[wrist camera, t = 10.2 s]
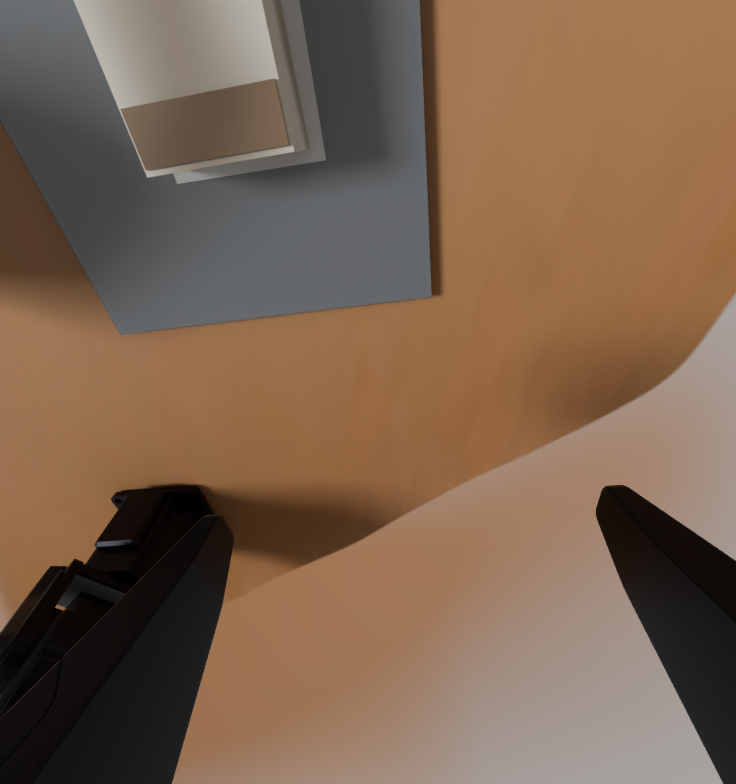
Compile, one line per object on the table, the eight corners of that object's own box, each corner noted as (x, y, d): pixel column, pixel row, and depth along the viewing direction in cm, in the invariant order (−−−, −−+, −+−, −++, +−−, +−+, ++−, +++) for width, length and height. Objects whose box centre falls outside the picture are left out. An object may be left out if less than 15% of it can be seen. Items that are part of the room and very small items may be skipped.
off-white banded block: (240, -205, 10) (188, -334, 7) (309, 149, 14) (294, 151, 12) (70, -157, 10) (-39, -262, 8) (188, 170, 15) (145, 177, 12)
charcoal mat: (430, 293, 18) (431, 297, 18) (125, 330, 20) (119, 335, 19) (407, -261, 10) (408, -283, 9) (-122, -121, 11) (-145, -134, 11)
